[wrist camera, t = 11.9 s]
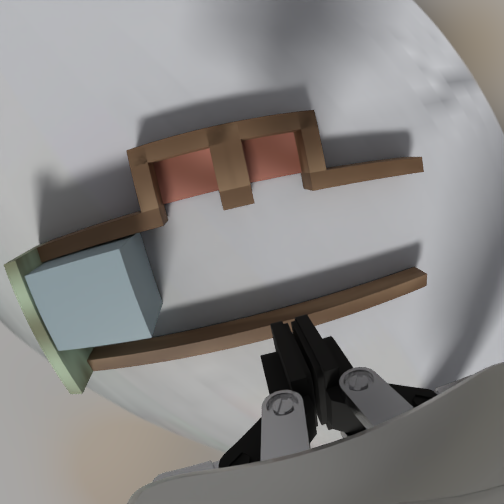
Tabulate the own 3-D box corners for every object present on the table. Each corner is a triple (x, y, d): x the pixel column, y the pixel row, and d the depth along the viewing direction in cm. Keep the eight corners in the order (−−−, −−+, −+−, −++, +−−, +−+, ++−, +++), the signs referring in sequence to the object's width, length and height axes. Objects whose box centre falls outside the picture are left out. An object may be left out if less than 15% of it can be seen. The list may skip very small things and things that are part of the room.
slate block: (162, 303, 21) (151, 337, 17) (81, 319, 21) (58, 350, 16) (139, 230, 20) (119, 248, 15) (56, 254, 19) (24, 276, 14)
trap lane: (414, 278, 24) (446, 298, 19) (87, 359, 22) (70, 394, 17) (398, 109, 19) (437, 101, 14) (24, 197, 17) (-13, 207, 12)
